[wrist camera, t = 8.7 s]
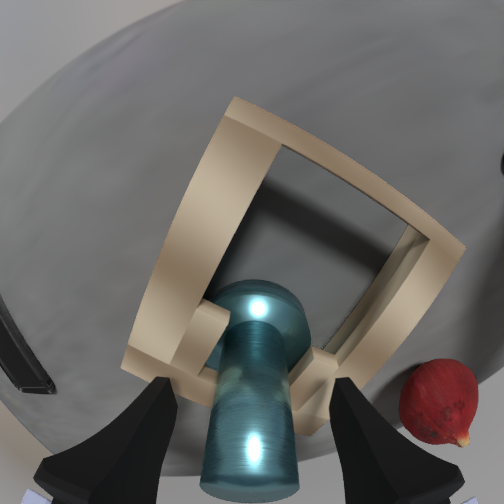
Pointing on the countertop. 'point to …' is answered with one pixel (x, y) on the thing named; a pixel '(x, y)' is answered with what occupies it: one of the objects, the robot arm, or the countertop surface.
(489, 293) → the countertop surface
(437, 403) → the onion
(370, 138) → the countertop surface
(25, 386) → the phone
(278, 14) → the countertop surface
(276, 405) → the peg
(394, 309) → the beige wooden frame
